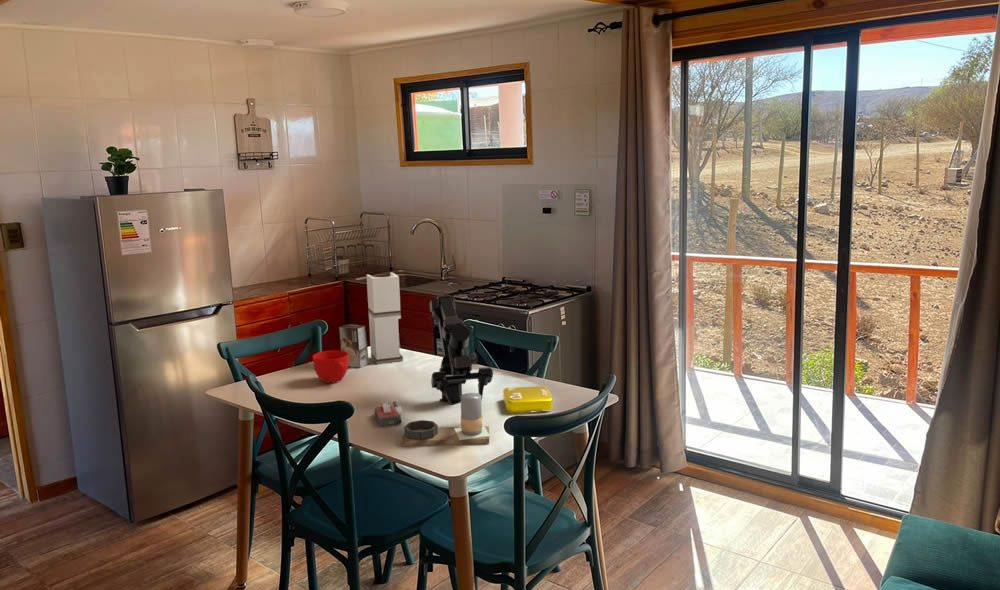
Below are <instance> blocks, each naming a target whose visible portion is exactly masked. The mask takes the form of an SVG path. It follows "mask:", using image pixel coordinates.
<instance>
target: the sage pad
mask: <svg viewBox="0 0 1000 590" xmlns="http://www.w3.org/2000/svg"><path fill="white" fill-rule="evenodd" d="M484 426H485V425H483V424H482V433H481V434H479V435H475V436H467V435H464V434H462V430H461V428H454V430H455V432H456V434H457V436H458V438H459V440H464V439H473V438H482V437H489V438H490V437H491V435H490V432H489V433H488V432H487V430H486V428H485V427H484Z"/></svg>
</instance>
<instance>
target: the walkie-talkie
mask: <svg viewBox="0 0 1000 590" xmlns="http://www.w3.org/2000/svg"><path fill="white" fill-rule="evenodd" d="M373 414H374V417H375V419H376V421H377V423H378V426H379V427H381V428H382V427H383V428H385V427H389V426H397V425H399V426H400V424H402V423H403V422H402V419H401V418H403V416H404V411H403V408H402V406H398V404H397V402H396V401H395V400H394V401H392V405H390V404H389V403H381V406H377V407H375V408H374V413H373Z"/></svg>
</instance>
